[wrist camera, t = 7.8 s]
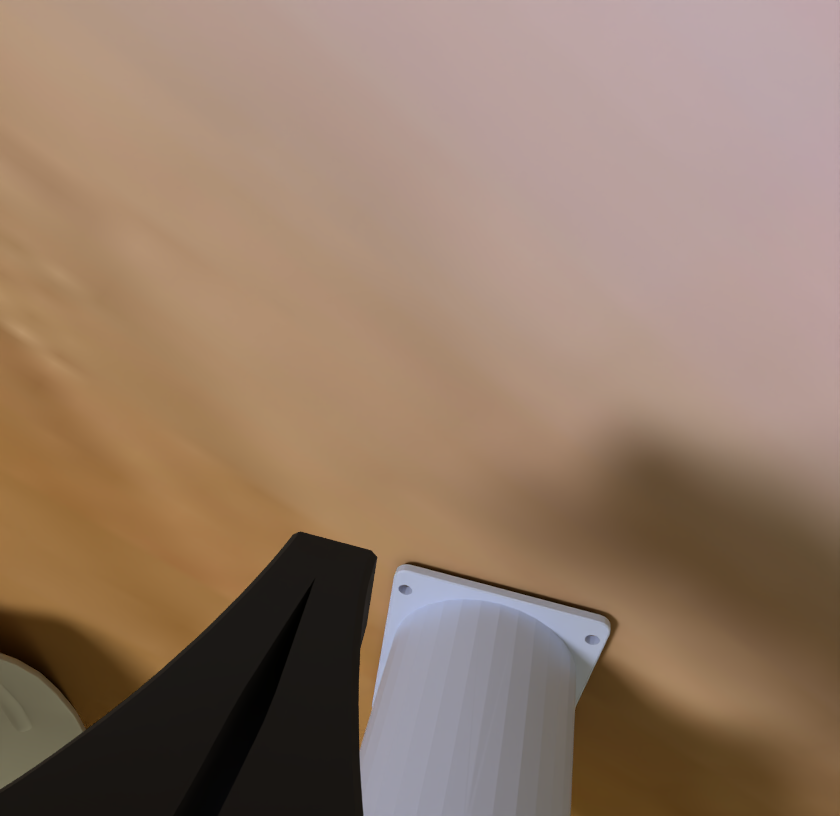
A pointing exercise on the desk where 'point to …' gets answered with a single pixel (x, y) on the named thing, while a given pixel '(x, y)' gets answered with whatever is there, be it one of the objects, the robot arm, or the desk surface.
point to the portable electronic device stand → (31, 719)
